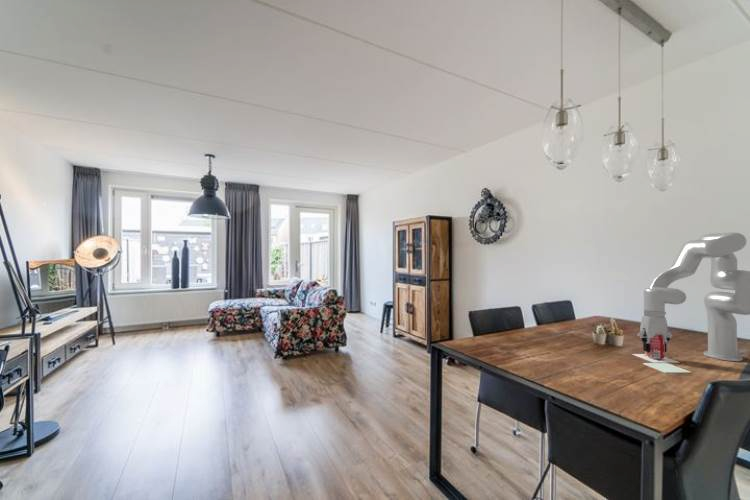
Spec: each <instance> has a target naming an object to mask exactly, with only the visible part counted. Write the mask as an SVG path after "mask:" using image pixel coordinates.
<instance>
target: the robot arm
mask: <svg viewBox="0 0 750 500" xmlns="http://www.w3.org/2000/svg"><path fill="white" fill-rule="evenodd" d="M746 245H747V238H746V237H745V235H743V234H742V233H740V232H717V233H715V232H714V233H706V234H703V235H701V236H699V237H698V239H697V240H696V239H695V240H689V241H687V242H685V243H684V244H682V246H681V248H680V249H679V253H678V254H677V256H676V257H675V259H674V261H673V263H672V264H671V266H670V267H669V268H668V269H666V270H664V271H663V272H661V273H660V274H659V275H658V276H657V277H655V279H654V280H653V282H652V284H651V285H650V287H647V288H645V289H644V290H643V315H642V317H641V321H640V327H639V328H640V329H639V332H638V333H637V334H636V336H637V338H639V340H640V341H641V343H643V344H642V345H643V346H642V347H643V348H642V349H643V350H642V351H643V352H645V351H646V352H650V344H649V342H650V340H651V338H653V337H654V336H655V334H662V335H663V336H664V340H665V353H667V352H668V350H667V348H668V347H667V344H668V343H669V341H670V340H671V339H672V337H673V333H671V332H670V331H669V326H668V321H667V318H666V315H667V312H666V311H665V310H666V309H665V308H666V304H668V305H669V304H670V305H681V304H683V303H685V302H686V299H687V295H686V293H685V292H684V291H683V290H681V289H679V288H672V287H669V286H670V285H671V284H672V283H674V282H676V281H678V280H681V279H685V278H688V277H691V276H693V275H695V273H696V272H697V270H698V268H699V266H700V265H701V262H702V260H703V259H710V261H711V262H710V279H709V280H710V284H711V287H714V288H716V289H720V290H729V291H734V292H728V291H726V292H725V291H712V292H711V291H710V292H709V293H707V294H706V295H705V296H704V297H703V298H704V299H703V302H704V306H705V311H706V314H707V316H706V317H707V350H705V351H703V355H704V356H706V357H709V358H712V359H716V360H722V361H728V362H742V361H743V357H742V356H740V355H746V354H747V351H746V349H739V348H738V322H737V320H736V317H735V316H734V314H735V315H743V316H748V315H749V316H750V271H749V270H743V269H741V270H740V269H738V258H737V256H736V255H735V254H734V253H736V252H739V251H740V250H743V249H744V248H745V247H746ZM646 335H647V336H646ZM646 338H647V340H646Z"/></svg>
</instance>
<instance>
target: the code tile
mask: <svg viewBox="0 0 750 500" xmlns="http://www.w3.org/2000/svg"><path fill="white" fill-rule="evenodd" d="M631 355H632V356H635V357H637V358H641V359H643V360H645V361H649V363H668V364H672V363H675V364H676V363H679V364H680V362H679V361H678V360H674V359H672V358H668V357H666V356H665V357H664V358H663V359H660V360H659V359H652V358H649V357H648V356H646V353H632V354H631Z"/></svg>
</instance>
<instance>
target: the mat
mask: <svg viewBox="0 0 750 500" xmlns="http://www.w3.org/2000/svg"><path fill="white" fill-rule="evenodd" d="M642 365H645V366H647V367H649V368H652V369H654V370H656V371H659V372H661V373H664V374H692V371H690V370H687V369H683V368H681V367H679V366H676V365H673V364H672V363H653V362H643V363H642Z"/></svg>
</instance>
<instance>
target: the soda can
mask: <svg viewBox="0 0 750 500" xmlns="http://www.w3.org/2000/svg"><path fill="white" fill-rule="evenodd" d="M646 336H647V335H646ZM646 340H647V338H646ZM649 344H650V352H646V351H644V352H645V353H644V354H646V356H648V357H649V358H652V359H659V360H660V359H663V358H664V357H666V356H665V355H666V352H665V340H664V336H663V335H662V334H655V336H654V337H653V338H651V340H650V342H649Z"/></svg>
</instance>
